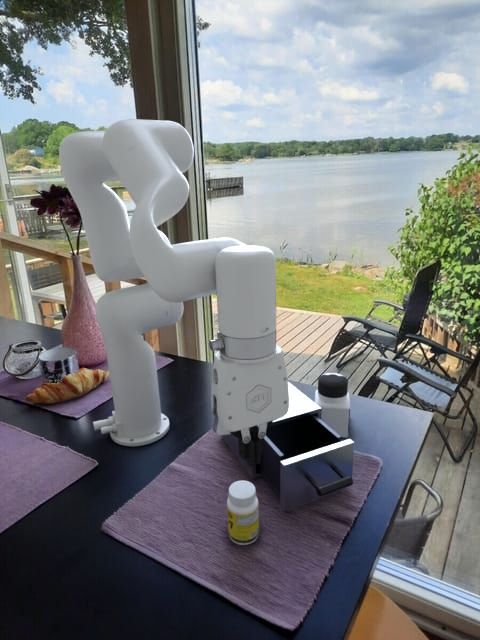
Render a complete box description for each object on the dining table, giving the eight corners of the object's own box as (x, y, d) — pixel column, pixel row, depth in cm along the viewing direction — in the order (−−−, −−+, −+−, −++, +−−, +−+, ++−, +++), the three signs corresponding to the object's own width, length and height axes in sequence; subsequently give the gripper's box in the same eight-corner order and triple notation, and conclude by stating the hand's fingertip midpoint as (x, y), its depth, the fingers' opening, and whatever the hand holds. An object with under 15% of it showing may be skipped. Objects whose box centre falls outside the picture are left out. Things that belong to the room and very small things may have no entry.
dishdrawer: (320, 456, 85) (321, 408, 82) (252, 479, 79) (251, 428, 76) (282, 420, 98) (282, 377, 94) (221, 437, 92) (219, 392, 89)
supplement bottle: (227, 523, 70) (225, 479, 67) (257, 520, 70) (256, 476, 67) (229, 547, 65) (227, 501, 62) (261, 544, 66) (260, 499, 63)
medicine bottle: (348, 438, 90) (351, 386, 86) (313, 435, 92) (314, 383, 88) (347, 420, 97) (350, 370, 93) (314, 417, 98) (316, 368, 94)
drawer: (370, 503, 72) (373, 458, 69) (299, 532, 66) (300, 484, 64) (308, 444, 87) (309, 405, 84) (247, 464, 82) (246, 423, 79)
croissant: (106, 387, 123) (97, 360, 123) (120, 381, 115) (110, 353, 115) (26, 415, 109) (16, 384, 109) (37, 411, 101) (26, 378, 102)
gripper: (205, 364, 51) (212, 492, 57) (311, 340, 57) (308, 458, 63) (184, 343, 58) (193, 460, 64) (282, 323, 64) (282, 432, 70)
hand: (250, 459), depth 64 cm, fingers closed
